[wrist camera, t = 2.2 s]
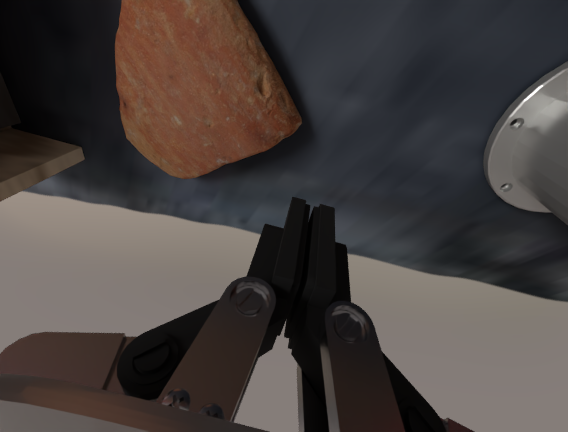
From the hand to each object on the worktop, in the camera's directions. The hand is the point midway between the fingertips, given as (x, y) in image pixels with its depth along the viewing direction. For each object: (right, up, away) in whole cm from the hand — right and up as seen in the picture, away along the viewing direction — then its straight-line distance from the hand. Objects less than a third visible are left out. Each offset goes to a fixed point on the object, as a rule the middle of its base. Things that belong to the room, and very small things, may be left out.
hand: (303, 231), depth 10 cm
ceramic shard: (-9, +12, +13) cm, 20 cm away
